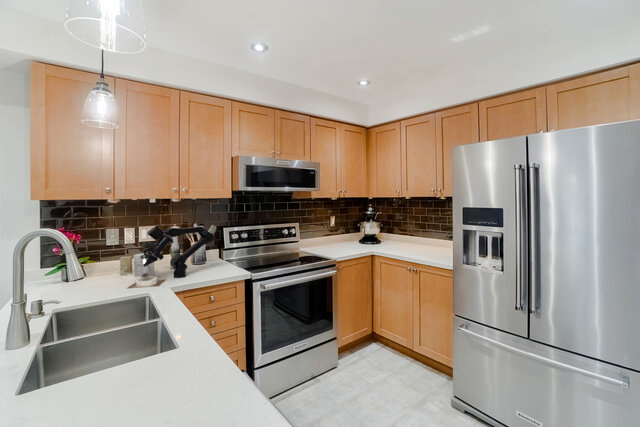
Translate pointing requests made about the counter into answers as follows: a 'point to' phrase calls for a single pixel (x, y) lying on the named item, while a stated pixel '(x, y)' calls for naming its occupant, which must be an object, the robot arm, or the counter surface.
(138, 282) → the ceramic ring
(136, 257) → the supplement box
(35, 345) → the counter surface
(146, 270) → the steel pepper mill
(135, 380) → the counter surface
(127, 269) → the skincare box
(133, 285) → the walnut board
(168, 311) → the counter surface
